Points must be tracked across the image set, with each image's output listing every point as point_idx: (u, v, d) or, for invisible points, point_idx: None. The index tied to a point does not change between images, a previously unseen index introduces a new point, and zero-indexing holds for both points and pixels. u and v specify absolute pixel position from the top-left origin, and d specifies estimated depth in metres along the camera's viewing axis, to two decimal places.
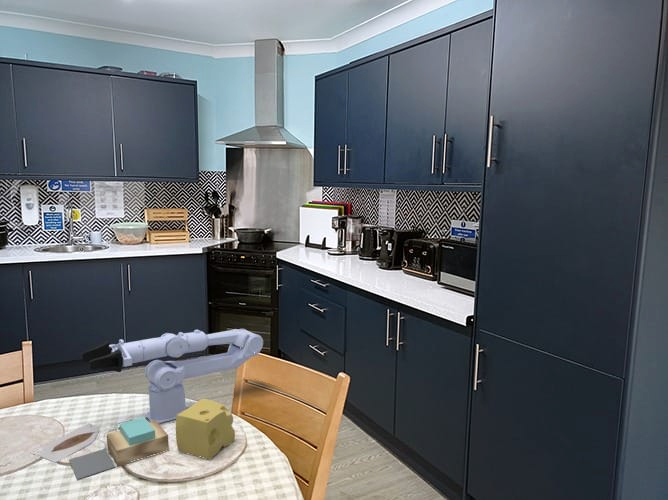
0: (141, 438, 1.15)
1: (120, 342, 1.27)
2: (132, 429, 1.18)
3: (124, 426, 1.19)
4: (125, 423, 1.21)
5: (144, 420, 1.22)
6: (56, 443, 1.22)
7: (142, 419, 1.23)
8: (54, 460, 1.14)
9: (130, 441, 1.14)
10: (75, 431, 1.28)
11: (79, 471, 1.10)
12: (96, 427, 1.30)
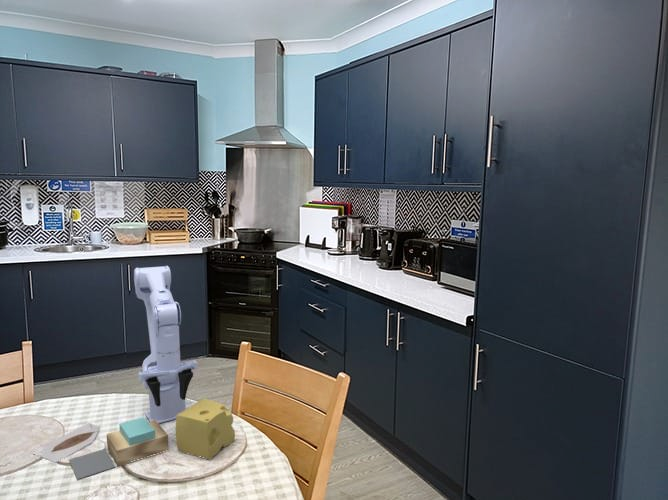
0: (141, 438, 1.15)
1: None
2: (132, 429, 1.18)
3: (124, 426, 1.19)
4: (125, 423, 1.21)
5: (144, 420, 1.22)
6: (56, 443, 1.22)
7: (142, 419, 1.23)
8: (54, 460, 1.14)
9: (130, 441, 1.14)
10: (75, 431, 1.28)
11: (79, 471, 1.10)
12: (96, 427, 1.30)
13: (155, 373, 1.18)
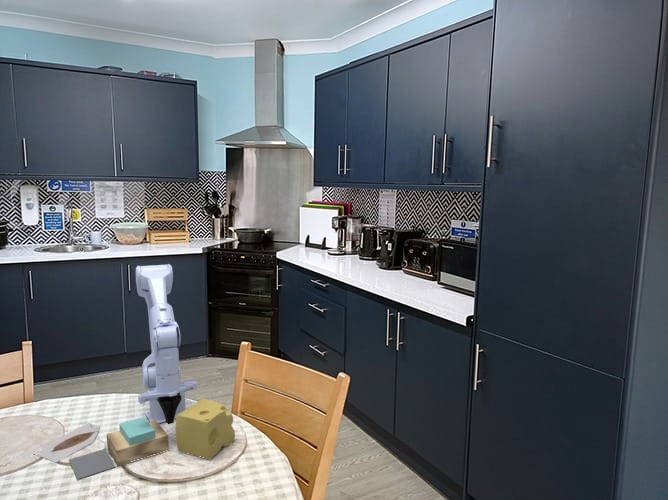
0: (141, 438, 1.15)
1: None
2: (132, 429, 1.18)
3: (124, 426, 1.19)
4: (125, 423, 1.21)
5: (144, 420, 1.22)
6: (56, 443, 1.22)
7: (142, 419, 1.23)
8: (54, 460, 1.14)
9: (130, 441, 1.14)
10: (75, 431, 1.28)
11: (79, 471, 1.10)
12: (96, 427, 1.30)
13: (154, 395, 1.19)
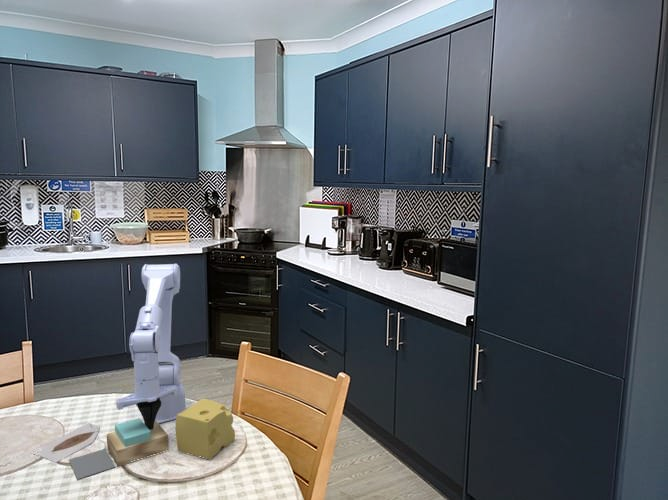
0: (137, 439, 1.15)
1: None
2: (128, 430, 1.17)
3: (119, 427, 1.18)
4: (121, 424, 1.20)
5: (140, 421, 1.22)
6: (56, 443, 1.22)
7: (138, 420, 1.22)
8: (55, 460, 1.14)
9: (126, 442, 1.13)
10: (75, 431, 1.28)
11: (79, 471, 1.10)
12: (96, 427, 1.30)
13: (133, 401, 1.16)
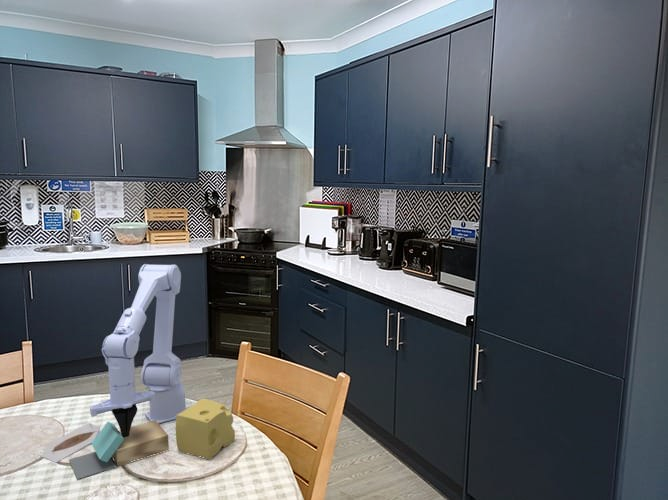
0: (111, 450, 1.11)
1: None
2: (101, 445, 1.13)
3: (94, 445, 1.15)
4: (95, 439, 1.17)
5: (108, 426, 1.17)
6: (56, 443, 1.22)
7: (107, 425, 1.18)
8: (55, 460, 1.14)
9: (103, 459, 1.10)
10: (75, 431, 1.28)
11: (79, 471, 1.10)
12: (96, 427, 1.30)
13: (107, 407, 1.12)
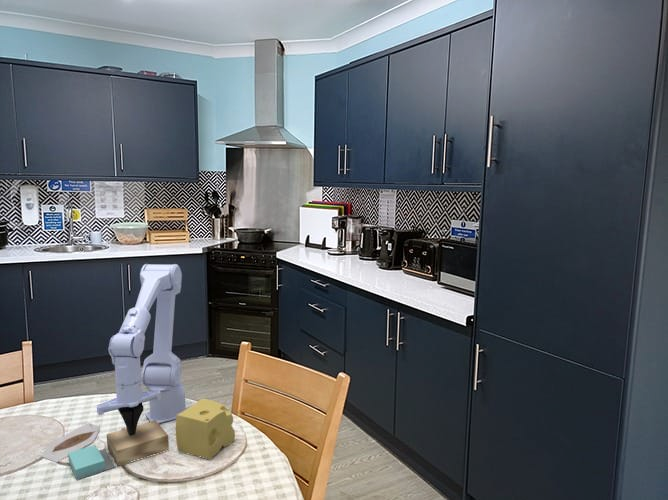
0: (91, 468, 1.09)
1: None
2: None
3: None
4: None
5: None
6: (56, 443, 1.22)
7: None
8: (55, 460, 1.14)
9: (103, 465, 1.10)
10: (75, 431, 1.28)
11: None
12: (96, 427, 1.30)
13: (114, 406, 1.13)
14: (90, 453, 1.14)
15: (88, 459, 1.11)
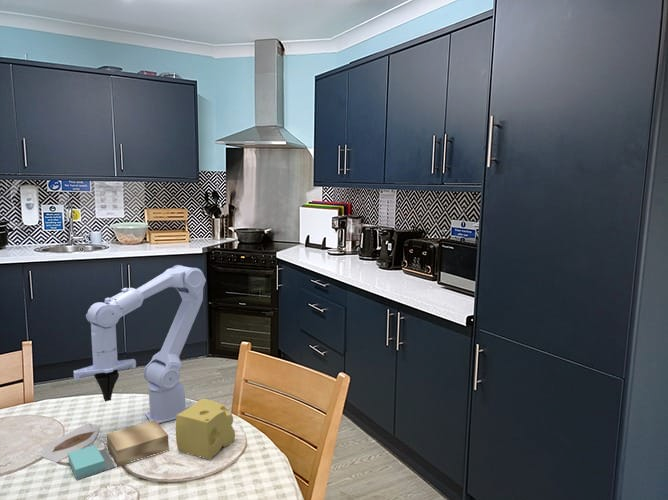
0: (91, 468, 1.09)
1: None
2: None
3: None
4: None
5: None
6: (56, 443, 1.22)
7: None
8: (55, 460, 1.14)
9: (103, 465, 1.10)
10: (75, 431, 1.28)
11: None
12: (96, 427, 1.30)
13: (90, 371, 1.20)
14: (90, 453, 1.14)
15: (88, 459, 1.11)
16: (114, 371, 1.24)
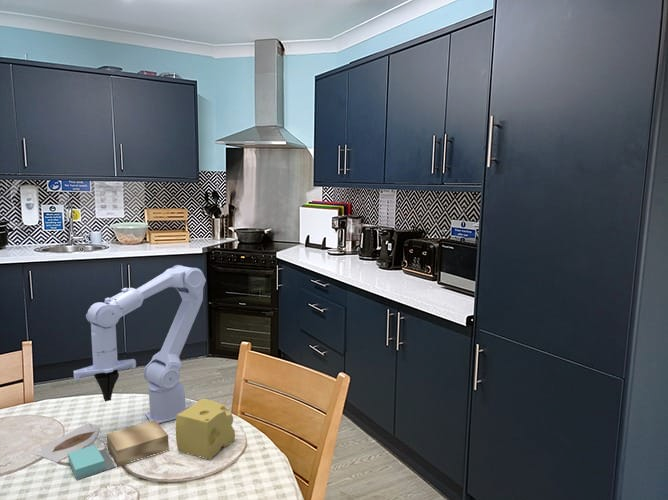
0: (91, 468, 1.09)
1: None
2: None
3: None
4: None
5: None
6: (57, 443, 1.22)
7: None
8: (56, 460, 1.14)
9: (103, 465, 1.10)
10: (75, 431, 1.28)
11: None
12: (96, 427, 1.30)
13: (90, 371, 1.20)
14: (90, 453, 1.14)
15: (88, 459, 1.11)
16: (114, 371, 1.24)
